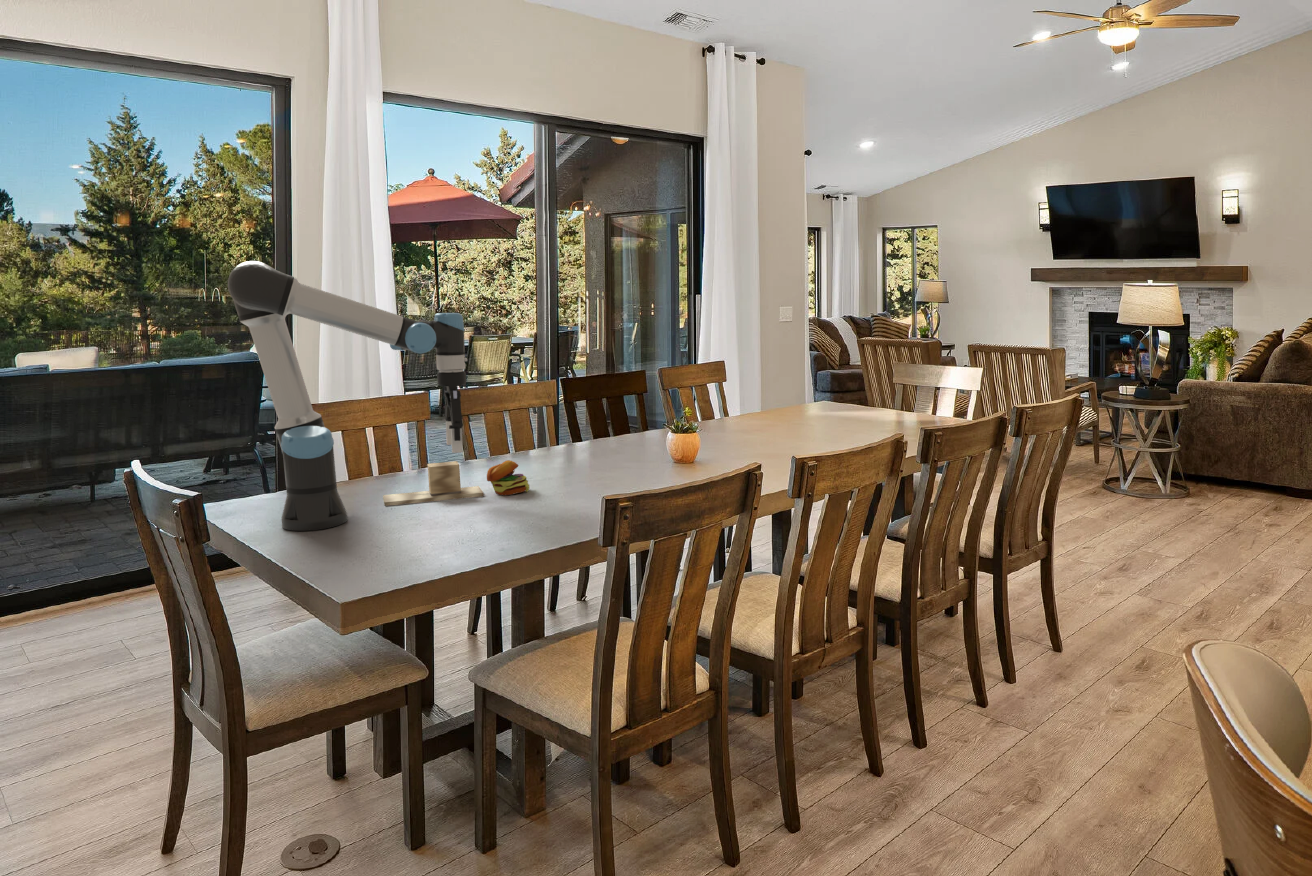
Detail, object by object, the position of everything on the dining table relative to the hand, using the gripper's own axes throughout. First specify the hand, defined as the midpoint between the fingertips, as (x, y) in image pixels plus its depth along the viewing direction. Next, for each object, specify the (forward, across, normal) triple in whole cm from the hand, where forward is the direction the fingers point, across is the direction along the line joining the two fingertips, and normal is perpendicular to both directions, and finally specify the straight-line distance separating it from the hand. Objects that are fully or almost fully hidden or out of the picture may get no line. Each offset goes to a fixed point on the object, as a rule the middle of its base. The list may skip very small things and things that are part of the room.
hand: (454, 448), depth 251 cm
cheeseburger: (+13, -2, -14) cm, 19 cm away
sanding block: (+12, 0, +3) cm, 12 cm away
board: (+13, 0, +6) cm, 15 cm away
